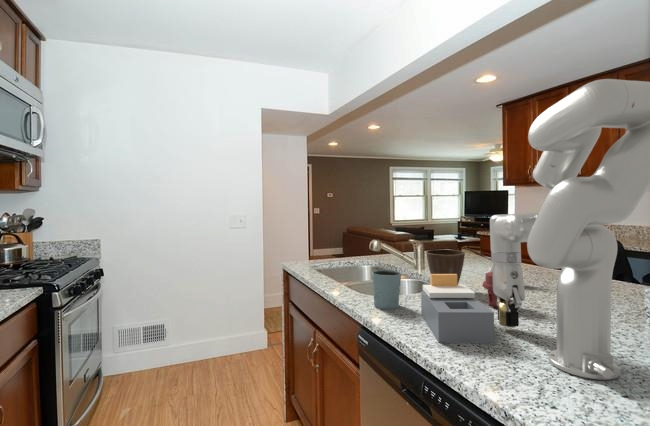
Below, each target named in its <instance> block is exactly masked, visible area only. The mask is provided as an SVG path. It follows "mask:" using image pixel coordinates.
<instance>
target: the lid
mask: <svg viewBox="0 0 650 426" xmlns="http://www.w3.org/2000/svg"><path fill="white" fill-rule="evenodd" d="M429 274H430V273H429ZM429 279H430V280H429V281H430V284H422V291H424V292H425V293H426V294H427V295H428V296H429V298H476V292H475V291H473V290H472V289H471V288H469V287H468V286H467V285H465V284H458V285H457V274H430V278H429Z"/></svg>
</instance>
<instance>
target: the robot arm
mask: <svg viewBox="0 0 650 426" xmlns="http://www.w3.org/2000/svg"><path fill="white" fill-rule="evenodd" d="M602 128H604V129H605V128H606V129H607V128H608V129H624V130H625V133H624V134H623V136H621V137H620V138H619V139H617V140H616V141H615V142H614V143H613V144H612V145H611V146H610V148H608V150H607V151H606V153H605V154H604V155H603V158H602V159H601V162H600V163H599V165H598V168H596V170H595V172H594V173H593V174H592V175H590V176H578V175H579V173H580V171H581V169H582V168H583V166H584V164H585V163H586V161H587V159H588V157H589V156H590V154H591V152H592V151H593V148H594V147H595V145H596V143H597V142H598V139H600V136H601V133H602ZM527 140H528V143H529V145H530V147H531V148H533V149H535V150H536V151H539V152H540V151H541V152H542V153H541V156H540V158H538V159H539V160H538V161H537V164H536V166H535V167H534V169H533V172H532V178H533V180H534V181H535V182H536V183H538V184H539V185H541V186H542V187H545V188H546V189H548V191H549V192H548V195H547V196H546V198H545V200H544V202H543V204H542V206H541V209H540V210H539V212H524V213H523V212H522V213H521V212H520V213H512V214H511V213H507V214H504V213H503V214H502V213H501V214H493V215H492V216H490V218H489V234H490V237H489V238H490V239H489V241H490V258H491V260H490V264H492V266H493V292H494V294H496V298H497V308H496V309H497V320H498V321H499V302H501V301H506V308H507V311H505V314H506V326H516V327H519V325H520V321H519V318H520V317H519V312H520V307H521V306H522V305H523V301H525V299H526V292H525V290H526V289H525V281H524V274H523V268H522V249H521V248H522V247H521V243H526V248H527V254H528V256H529V258H530V260H531V261H532V262H533V263H534V264H536V265H537V266H539V267H541V268H545V269H550V270H551V269H552V270H553V269H554V270H557V269H561V270H560V271H559V275H558V278H557V280H556V281H557V282H556V349H554V350H551V351H550V352H549V353H548V361H549V362H550V363H551V365H553V366H554V367H555V368H557V369H559V370H561V371H562V372H565V373H568V374H571V375H573V376H576V377H580V378H586V379H590V380H599V381H601V380H603V381H605V380H606V381H608V380H614V379H617V378H618V377H620V375H621V367H620V366H619V364H617V363H616V362H614V355H612V353H611V351H612V350H611V349H612V345H611V344H612V342H611V341H612V340H611V338H612V337H611V335H612V333H611V332H612V331H611V329H612V323H611V322H612V282H613V274H614V273H613V272H614V267H615V263H616V260H617V255H618V250H619V249H618V242H617V238H616V236H615V234H614V233H613V231H611V230H610V229H609V228H607V227H606V226H604V225H611V224H612V225H613V224H619V223H621V222H623V221H625V220H627V219H628V218H629V217H630V216H631V215H632V214H633V213H634V211H635V209H637V207H638V205H639V203H641V200H642V198H643V197H644V195H645V193H646V192H647V190H648V189H649V187H650V81H645V80H642V81H641V80H628V79H617V78H616V79H615V78H603V79H602V78H601V79H596V80H593V81H590V82H587V83H586V84H584V85H582V86H580V87H578V88H577V89H576V90H574V91H572V92H571V93H568V95H566V96H565V97H563V98H562V99H560V100H558V101H557V102H555V103H554V104H551V106H549V107H548V108H546V109H545V110H544V111H543V112H541V113H540V114H539V115H538V116H537V117H536V118H535V119H534V121H533V122H532V123H531V125H530V127H529V130H528V135H527ZM510 302H513V303H512V304H511V305H510Z"/></svg>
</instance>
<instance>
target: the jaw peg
mask: <svg viewBox="0 0 650 426" xmlns="http://www.w3.org/2000/svg"><path fill="white" fill-rule="evenodd" d="M512 303H513V302H510V305H511V304H512ZM505 311H507V308H506V301H501V302H499V320H498V321H499V325H500V326H501V327H506V328H516V327H517V326H506V314H505Z"/></svg>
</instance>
